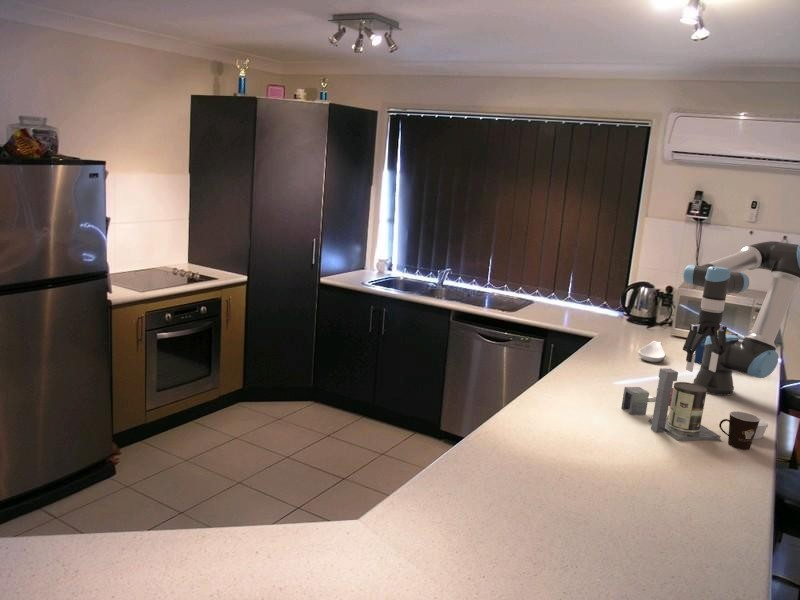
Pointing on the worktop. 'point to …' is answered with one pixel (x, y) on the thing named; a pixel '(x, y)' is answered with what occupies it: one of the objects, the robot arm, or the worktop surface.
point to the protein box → (700, 349)
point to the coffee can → (687, 407)
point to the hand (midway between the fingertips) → (700, 370)
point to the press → (661, 408)
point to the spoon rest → (652, 352)
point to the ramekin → (760, 429)
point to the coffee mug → (741, 429)
